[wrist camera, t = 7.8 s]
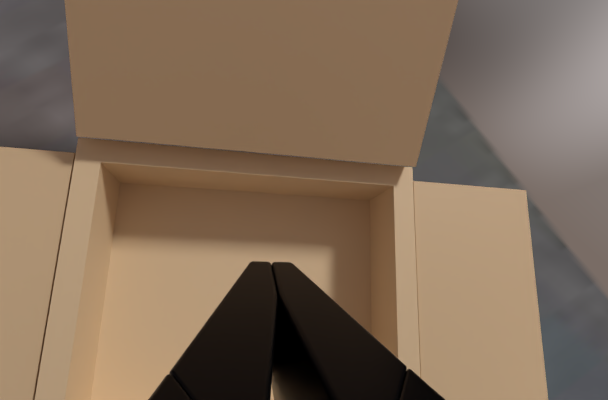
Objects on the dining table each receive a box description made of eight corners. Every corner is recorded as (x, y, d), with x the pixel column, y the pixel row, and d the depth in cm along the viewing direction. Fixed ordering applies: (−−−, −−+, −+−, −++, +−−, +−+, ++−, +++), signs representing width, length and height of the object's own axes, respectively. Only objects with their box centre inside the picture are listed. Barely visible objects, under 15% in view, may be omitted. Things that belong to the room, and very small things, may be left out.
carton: (513, 592, 15) (578, 660, 13) (-162, 677, 11) (-292, 806, 9) (481, 194, 19) (527, 177, 16) (-38, 153, 15) (-100, 121, 12)
